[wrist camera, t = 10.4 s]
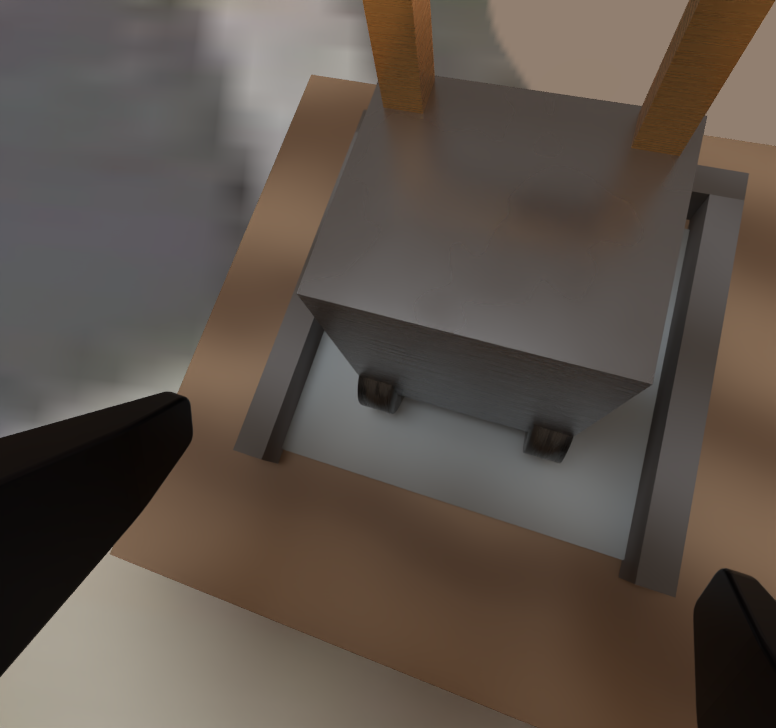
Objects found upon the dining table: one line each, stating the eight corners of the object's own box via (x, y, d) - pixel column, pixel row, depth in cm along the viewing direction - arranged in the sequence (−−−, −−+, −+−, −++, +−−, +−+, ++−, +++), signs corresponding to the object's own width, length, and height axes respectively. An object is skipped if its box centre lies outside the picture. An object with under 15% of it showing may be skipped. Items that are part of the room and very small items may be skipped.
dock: (719, 772, 15) (804, 858, 12) (152, 548, 20) (78, 557, 16) (802, 200, 20) (883, 125, 16) (326, 118, 24) (300, 43, 20)
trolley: (551, 467, 16) (816, 338, 4) (368, 413, 17) (159, 191, 5) (594, 287, 17) (887, -207, 5) (422, 249, 18) (353, -219, 7)
